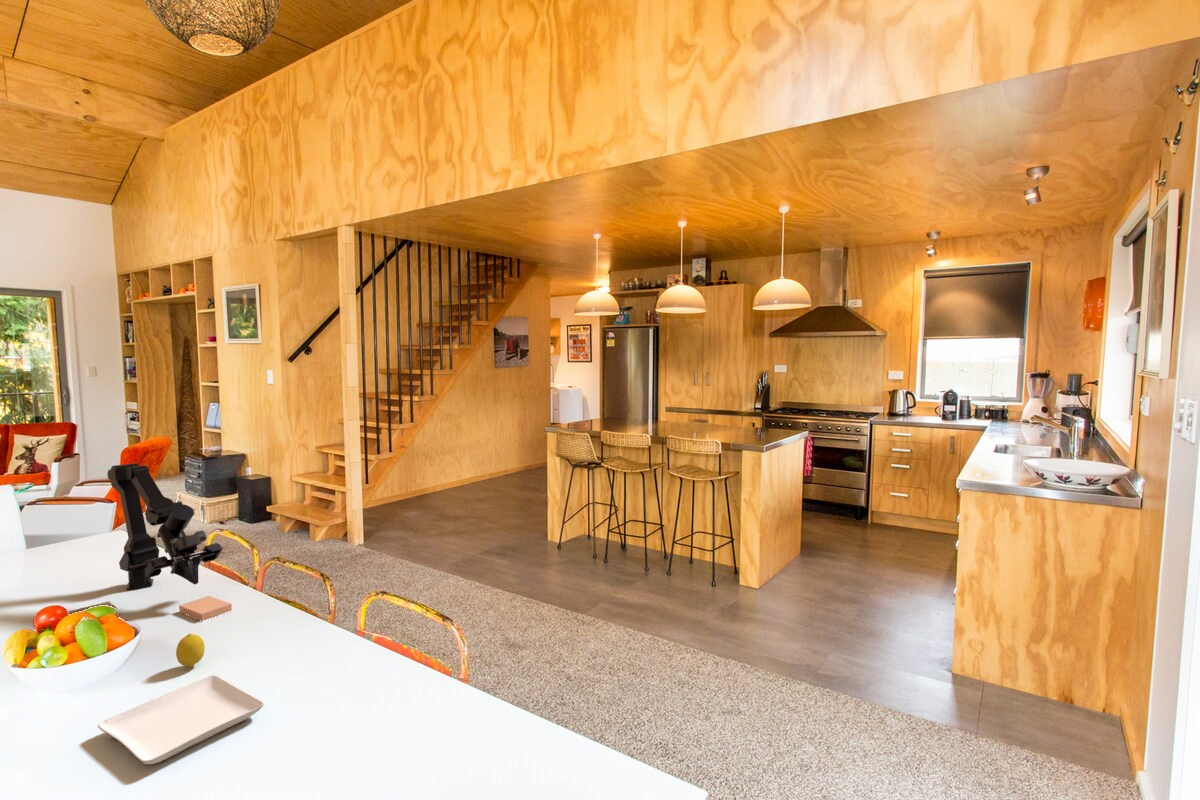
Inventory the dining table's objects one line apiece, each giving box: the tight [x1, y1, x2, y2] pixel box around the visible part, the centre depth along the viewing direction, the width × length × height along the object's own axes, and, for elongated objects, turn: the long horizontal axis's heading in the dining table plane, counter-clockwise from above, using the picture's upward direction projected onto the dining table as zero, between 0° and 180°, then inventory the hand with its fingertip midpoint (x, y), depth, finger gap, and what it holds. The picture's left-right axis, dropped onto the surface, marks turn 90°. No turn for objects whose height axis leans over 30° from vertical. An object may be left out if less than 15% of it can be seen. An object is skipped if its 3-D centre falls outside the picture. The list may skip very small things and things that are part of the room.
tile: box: [178, 595, 233, 622], centre depth 173 cm, size 2×8×12 cm
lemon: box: [175, 633, 206, 668], centre depth 142 cm, size 6×6×8 cm
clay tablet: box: [67, 600, 118, 614], centre depth 171 cm, size 14×10×3 cm
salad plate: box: [97, 674, 265, 765], centre depth 119 cm, size 21×21×3 cm
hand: (196, 583), depth 175 cm, fingers closed
